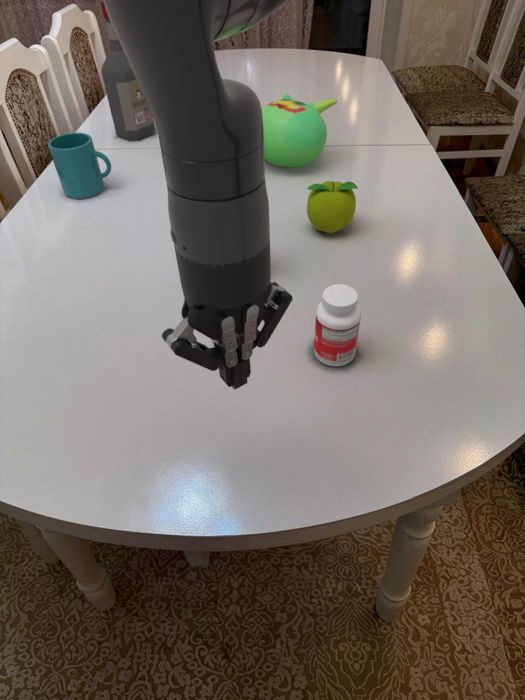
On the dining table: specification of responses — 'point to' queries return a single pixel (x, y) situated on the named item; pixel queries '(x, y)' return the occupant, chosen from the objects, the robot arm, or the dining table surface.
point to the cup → (78, 165)
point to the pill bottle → (337, 325)
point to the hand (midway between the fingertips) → (236, 381)
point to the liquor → (124, 92)
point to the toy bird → (294, 131)
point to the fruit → (331, 205)
